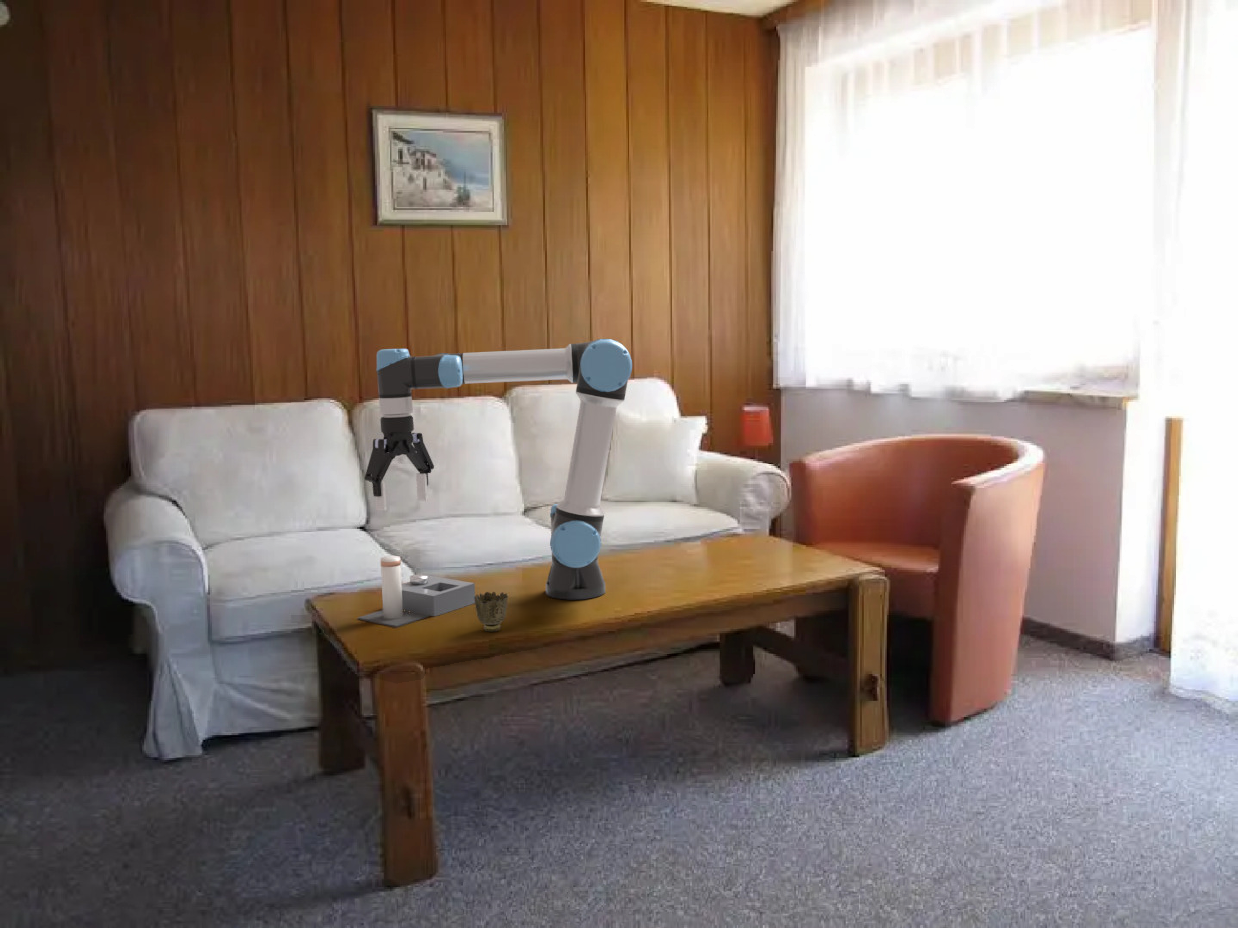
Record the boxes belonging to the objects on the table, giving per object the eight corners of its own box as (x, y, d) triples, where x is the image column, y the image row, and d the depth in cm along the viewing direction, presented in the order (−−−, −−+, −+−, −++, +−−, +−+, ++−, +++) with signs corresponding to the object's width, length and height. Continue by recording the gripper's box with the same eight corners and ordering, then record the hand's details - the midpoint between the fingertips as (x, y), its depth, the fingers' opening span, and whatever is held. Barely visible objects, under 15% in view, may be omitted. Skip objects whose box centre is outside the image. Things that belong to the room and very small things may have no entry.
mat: (428, 617, 248) (428, 615, 248) (396, 627, 240) (396, 625, 240) (390, 609, 255) (390, 607, 255) (358, 619, 247) (357, 617, 247)
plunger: (432, 599, 261) (431, 575, 260) (419, 603, 258) (418, 579, 257) (420, 596, 264) (418, 573, 263) (407, 600, 260) (405, 577, 259)
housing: (475, 603, 259) (474, 583, 259) (434, 616, 248) (433, 596, 247) (431, 594, 268) (430, 575, 267) (390, 607, 257) (389, 587, 256)
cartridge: (407, 615, 248) (404, 557, 246) (392, 620, 244) (389, 561, 242) (393, 612, 251) (391, 555, 249) (379, 617, 247) (376, 558, 245)
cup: (469, 633, 234) (468, 598, 233) (485, 624, 241) (483, 590, 240) (499, 636, 232) (498, 601, 231) (514, 627, 239) (513, 592, 237)
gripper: (422, 410, 258) (427, 495, 261) (344, 420, 238) (351, 513, 240) (445, 410, 254) (450, 497, 257) (367, 421, 233) (374, 515, 236)
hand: (402, 505), depth 249 cm, fingers open, 13 cm apart
